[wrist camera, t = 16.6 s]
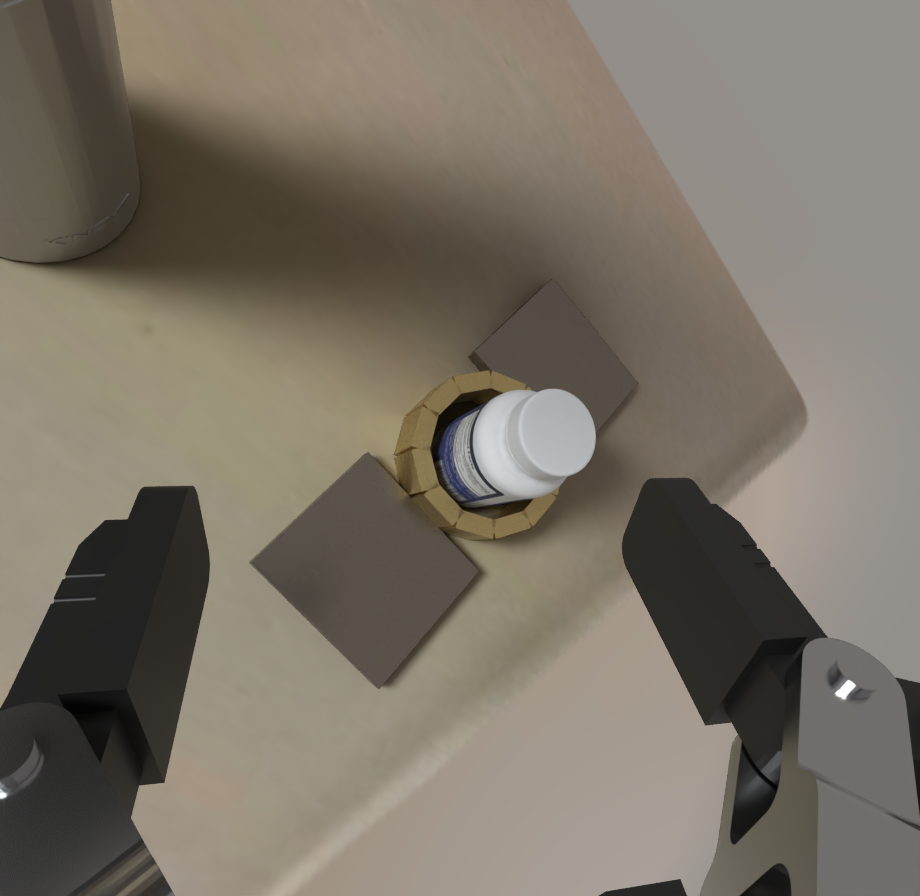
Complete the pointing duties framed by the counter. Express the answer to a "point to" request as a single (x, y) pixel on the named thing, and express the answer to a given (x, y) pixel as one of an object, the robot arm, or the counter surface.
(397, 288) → the counter surface
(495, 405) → the pill bottle
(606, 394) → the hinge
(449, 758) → the counter surface
